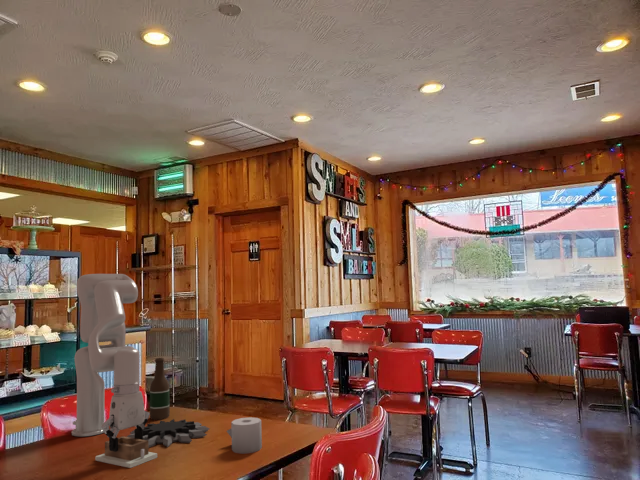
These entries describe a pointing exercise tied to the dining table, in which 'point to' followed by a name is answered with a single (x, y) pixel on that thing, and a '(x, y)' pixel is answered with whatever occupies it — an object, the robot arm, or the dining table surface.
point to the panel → (126, 462)
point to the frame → (128, 448)
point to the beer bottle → (159, 393)
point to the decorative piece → (171, 432)
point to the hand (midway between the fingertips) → (126, 446)
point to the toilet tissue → (246, 435)
